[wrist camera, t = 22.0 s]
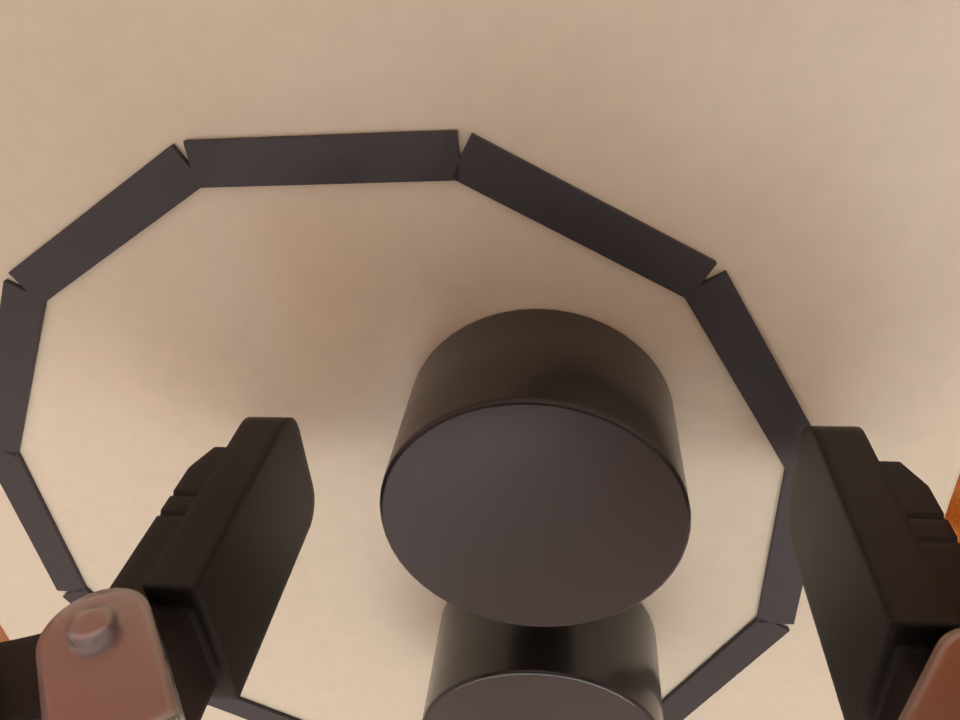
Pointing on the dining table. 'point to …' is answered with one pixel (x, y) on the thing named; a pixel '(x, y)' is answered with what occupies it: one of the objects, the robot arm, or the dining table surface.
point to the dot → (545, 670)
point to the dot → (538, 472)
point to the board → (467, 284)
